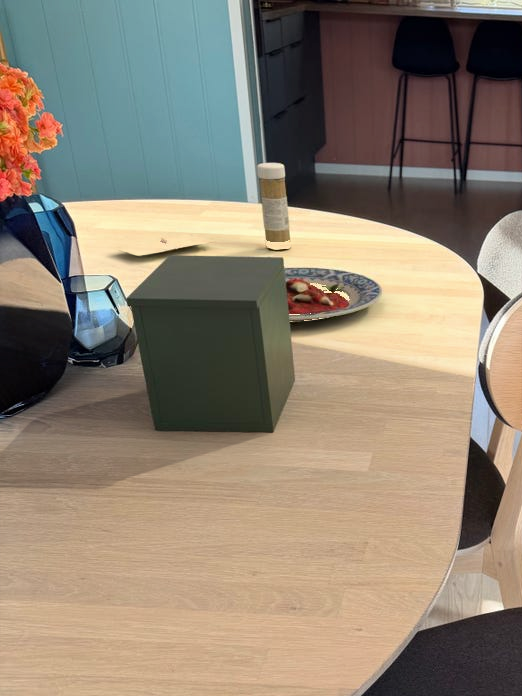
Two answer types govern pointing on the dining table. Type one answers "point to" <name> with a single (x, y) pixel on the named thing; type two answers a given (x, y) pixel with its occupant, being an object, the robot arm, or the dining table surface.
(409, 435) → the dining table surface
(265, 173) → the sprinkles bottle
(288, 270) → the ceramic plate
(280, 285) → the box
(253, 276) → the lid
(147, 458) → the dining table surface
